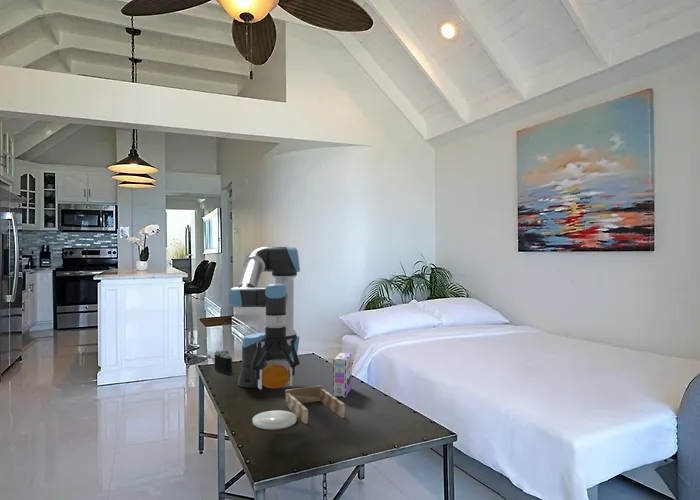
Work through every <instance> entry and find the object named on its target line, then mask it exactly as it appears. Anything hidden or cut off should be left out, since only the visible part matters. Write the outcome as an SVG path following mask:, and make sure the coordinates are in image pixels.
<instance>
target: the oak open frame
mask: <svg viewBox="0 0 700 500" xmlns="http://www.w3.org/2000/svg"><path fill="white" fill-rule="evenodd" d="M284 391H285V392H284V393H285V394H284V396H285V397H284V399H285V400H284V404H285V406H286V407H287V408H288V409H289V410H290V412H292V413H294V414H295V415H296V416H297V419H299V420H300V421H302V423H303V424H304V425H307V424H308V423H309V409H308V408H307V407H306V406H305V405H304V404H306V403H313V402H321V403H322V404H323V405H325V406H326V407H327V408H328V409H330V410H331V411H332V412H333V413H334V414H336V415H338V416H339V418H341V419H343V418H345V416H346V415H345V413H346V412H345V411H346V407H345V404H346V403H344V402H343V401H341V400H339V399H338V397H334V396H333V394H332V393H330V392H328V391H327V390H325V389H324V388H323V385H322V384H321V385H320V384H319V385H312V386H304V387H297V388H290V389H285V390H284Z"/></svg>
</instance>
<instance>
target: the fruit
mask: <svg viewBox="0 0 700 500" xmlns="http://www.w3.org/2000/svg"><path fill="white" fill-rule="evenodd" d="M288 380H289V373H288V368H286V367H285V366H284V365H281V364H276V363H275V364H269V365H268V364H267V366H266V367H265V368H264V369H263V370H262V384H263V385H264V387H265V388H268V389H278V388H279V389H280V388H283V387H284V386H286V385H288Z"/></svg>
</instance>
